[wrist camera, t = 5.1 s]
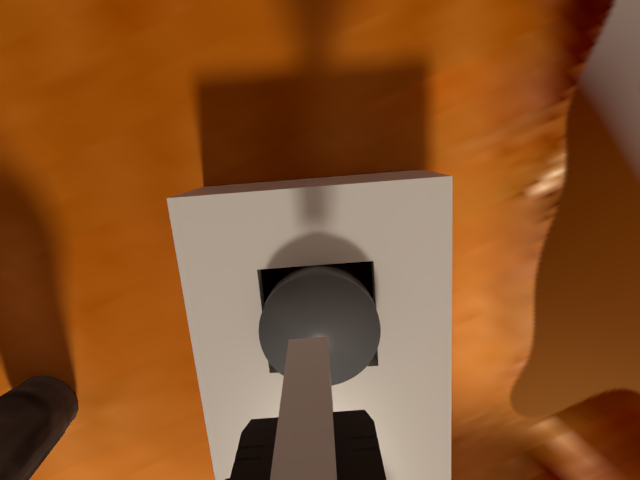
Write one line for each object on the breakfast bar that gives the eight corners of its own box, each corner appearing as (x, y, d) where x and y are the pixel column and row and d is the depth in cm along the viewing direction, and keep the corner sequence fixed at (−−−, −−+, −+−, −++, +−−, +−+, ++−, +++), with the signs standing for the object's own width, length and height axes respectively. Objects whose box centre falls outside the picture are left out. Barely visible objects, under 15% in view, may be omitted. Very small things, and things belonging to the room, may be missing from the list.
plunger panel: (203, 186, 24) (166, 198, 18) (420, 169, 24) (452, 175, 18) (257, 548, 31) (242, 639, 25) (426, 537, 31) (450, 628, 25)
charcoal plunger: (267, 249, 23) (251, 279, 18) (364, 242, 23) (378, 270, 18) (277, 337, 25) (265, 390, 19) (369, 331, 24) (382, 382, 19)
